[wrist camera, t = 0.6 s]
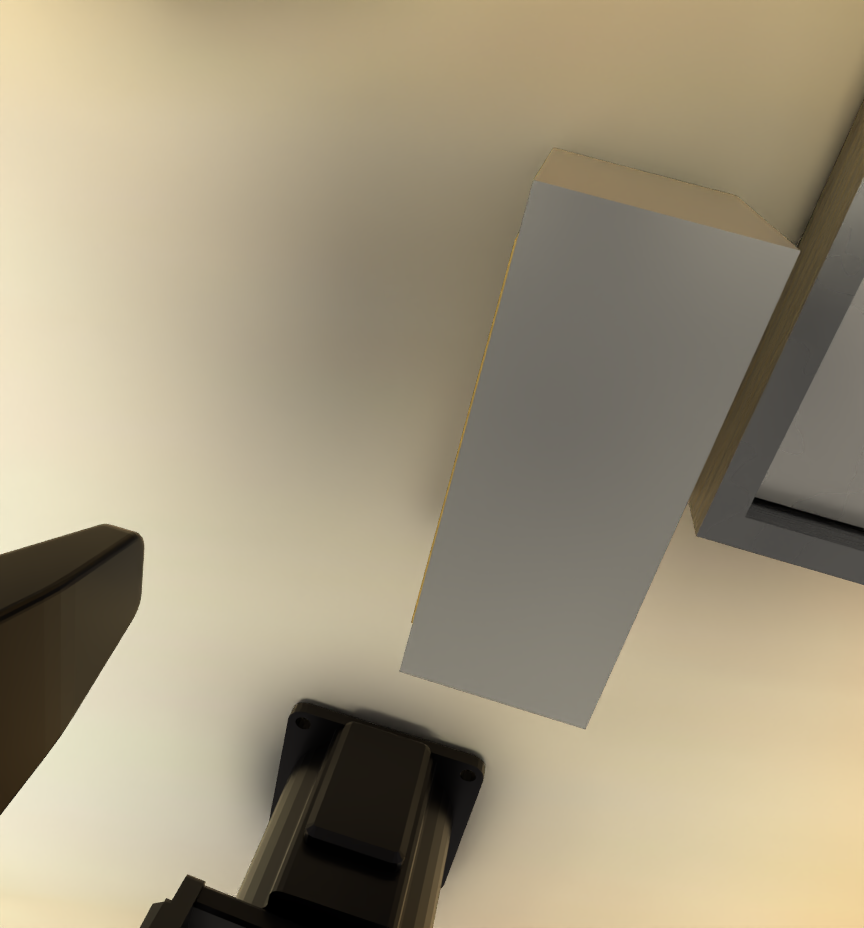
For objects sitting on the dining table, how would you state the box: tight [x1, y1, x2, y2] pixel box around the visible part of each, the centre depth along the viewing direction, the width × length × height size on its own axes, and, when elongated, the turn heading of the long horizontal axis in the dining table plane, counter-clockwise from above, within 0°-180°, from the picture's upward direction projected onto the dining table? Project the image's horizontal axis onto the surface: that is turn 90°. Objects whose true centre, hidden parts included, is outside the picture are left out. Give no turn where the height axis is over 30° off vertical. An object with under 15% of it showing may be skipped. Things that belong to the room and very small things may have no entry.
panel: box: [399, 148, 800, 729], centre depth 16 cm, size 10×4×6 cm, turn 167°
